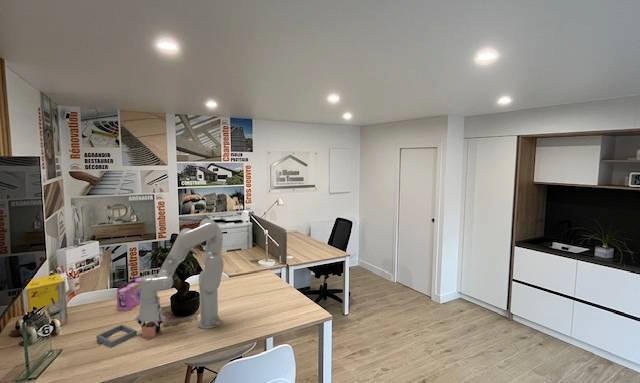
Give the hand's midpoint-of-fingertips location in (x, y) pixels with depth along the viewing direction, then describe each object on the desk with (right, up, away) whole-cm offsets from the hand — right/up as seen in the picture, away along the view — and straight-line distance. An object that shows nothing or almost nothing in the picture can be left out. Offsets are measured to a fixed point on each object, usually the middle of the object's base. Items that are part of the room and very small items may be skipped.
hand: (151, 331), depth 176 cm
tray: (-16, -2, -4) cm, 16 cm away
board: (0, -2, 0) cm, 2 cm away
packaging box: (-64, -1, +11) cm, 65 cm away
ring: (0, -1, 0) cm, 1 cm away
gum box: (-31, +2, +39) cm, 50 cm away
